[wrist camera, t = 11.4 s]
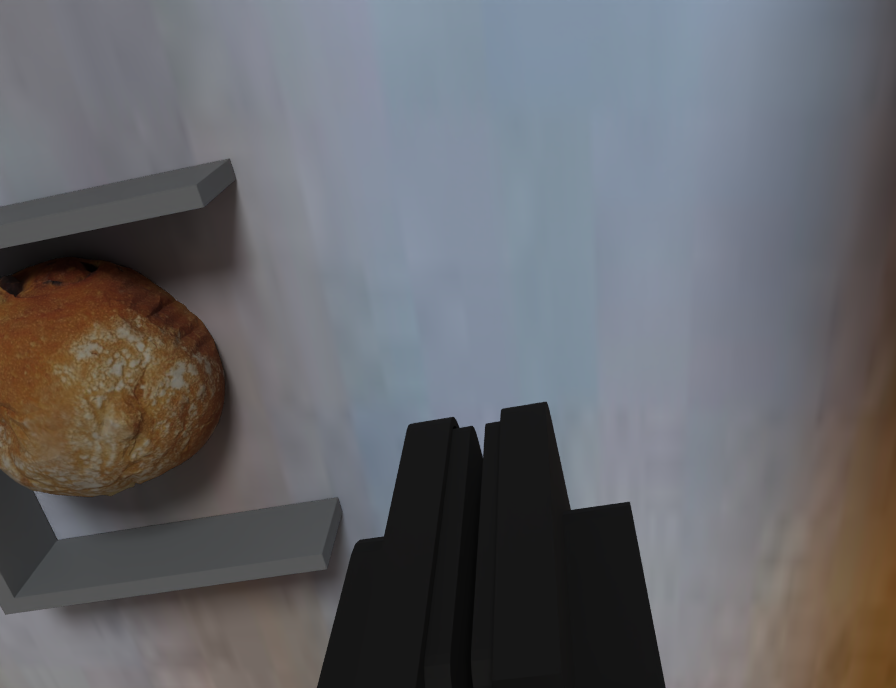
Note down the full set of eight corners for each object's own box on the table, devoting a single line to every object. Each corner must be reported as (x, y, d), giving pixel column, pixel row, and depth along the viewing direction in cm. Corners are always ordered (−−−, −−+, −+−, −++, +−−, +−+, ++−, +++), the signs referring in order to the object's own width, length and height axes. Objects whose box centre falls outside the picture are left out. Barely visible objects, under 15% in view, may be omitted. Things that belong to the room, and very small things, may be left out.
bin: (229, 158, 32) (196, 184, 28) (342, 511, 39) (326, 569, 35) (-116, 231, 34) (-188, 264, 30) (48, 555, 41) (5, 614, 37)
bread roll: (109, 425, 42) (94, 568, 36) (-87, 314, 35) (-143, 471, 29) (264, 328, 39) (272, 468, 34) (85, 187, 32) (60, 334, 27)
